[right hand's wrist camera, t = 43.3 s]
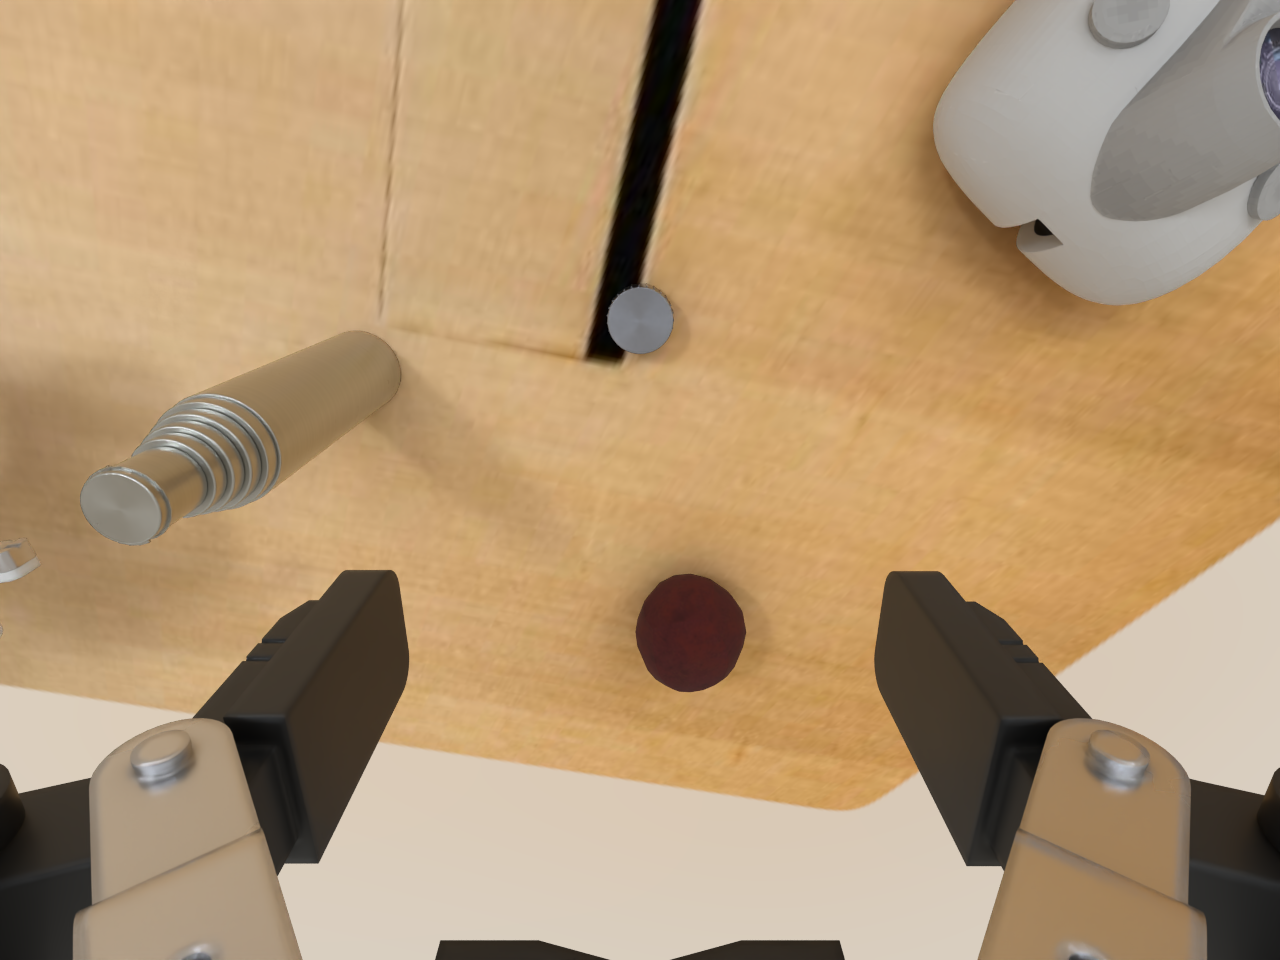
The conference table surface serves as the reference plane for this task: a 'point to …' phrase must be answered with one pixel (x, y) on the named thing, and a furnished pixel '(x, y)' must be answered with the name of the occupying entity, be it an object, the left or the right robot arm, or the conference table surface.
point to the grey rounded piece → (1120, 136)
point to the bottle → (241, 437)
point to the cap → (640, 318)
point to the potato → (690, 633)
